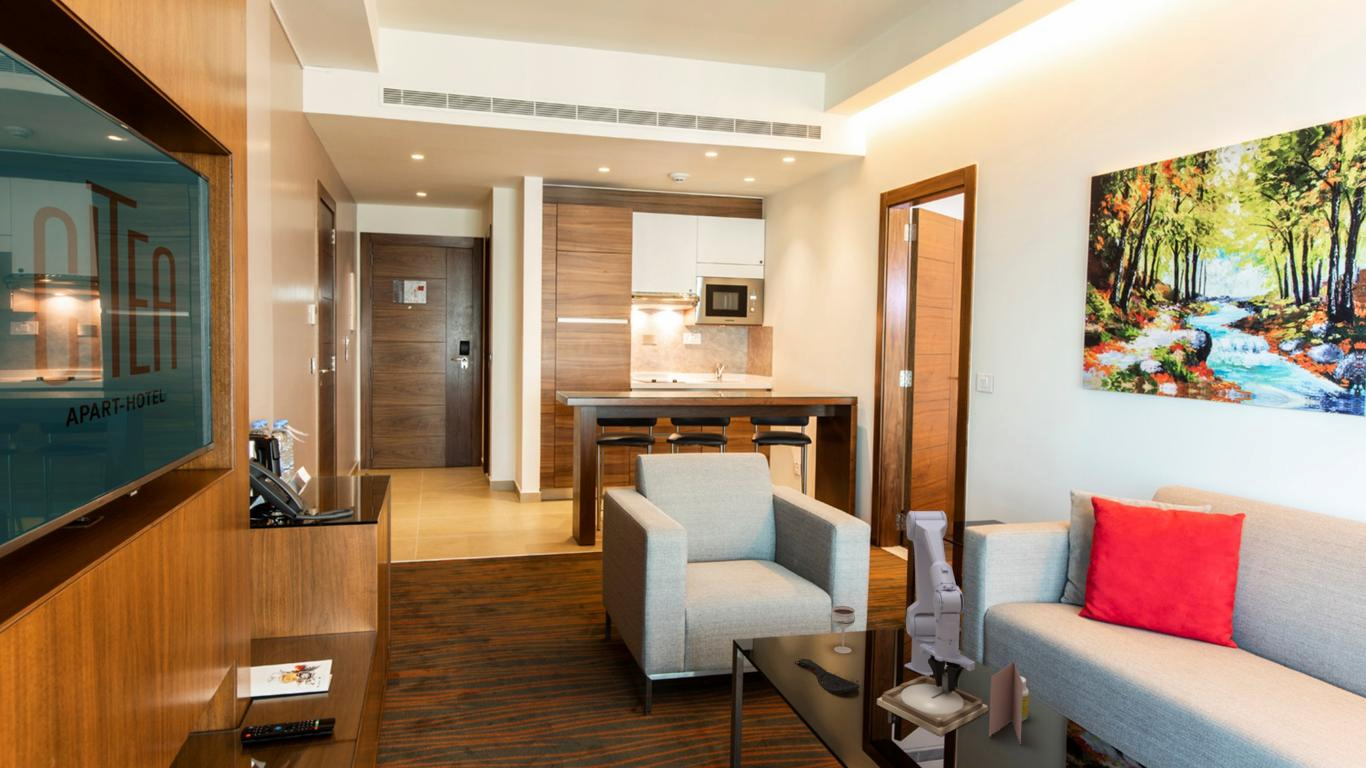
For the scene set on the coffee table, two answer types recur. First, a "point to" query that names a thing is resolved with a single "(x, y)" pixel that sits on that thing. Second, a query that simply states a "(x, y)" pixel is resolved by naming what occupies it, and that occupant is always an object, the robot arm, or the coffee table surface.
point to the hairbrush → (830, 679)
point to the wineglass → (843, 623)
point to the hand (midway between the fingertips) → (945, 687)
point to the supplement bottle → (1025, 699)
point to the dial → (933, 698)
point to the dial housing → (934, 724)
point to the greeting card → (1006, 699)
